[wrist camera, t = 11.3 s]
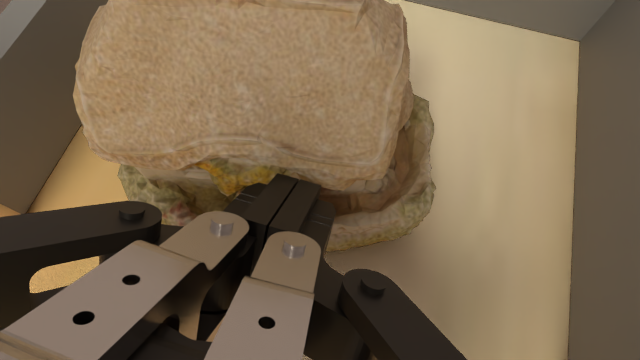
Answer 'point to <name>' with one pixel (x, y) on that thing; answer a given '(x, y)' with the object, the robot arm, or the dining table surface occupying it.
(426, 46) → the dining table surface
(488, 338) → the dining table surface
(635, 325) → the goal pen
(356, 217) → the ceramic model
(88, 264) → the dining table surface
